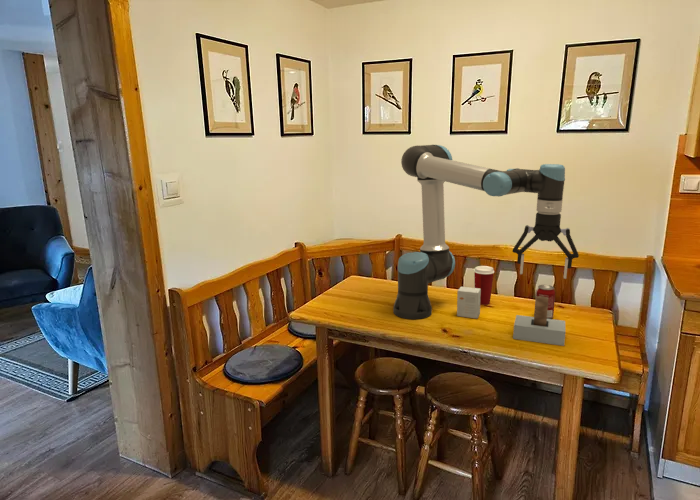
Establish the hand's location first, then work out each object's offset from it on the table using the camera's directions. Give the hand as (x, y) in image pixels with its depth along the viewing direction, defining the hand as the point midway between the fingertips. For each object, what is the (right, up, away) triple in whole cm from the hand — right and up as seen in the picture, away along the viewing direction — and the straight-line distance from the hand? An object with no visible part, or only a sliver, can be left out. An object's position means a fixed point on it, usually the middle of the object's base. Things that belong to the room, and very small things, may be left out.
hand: (542, 275), depth 159 cm
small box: (-19, -17, +26) cm, 36 cm away
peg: (+1, -21, +5) cm, 22 cm away
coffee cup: (-10, -14, +39) cm, 42 cm away
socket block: (+1, -21, +5) cm, 22 cm away
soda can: (+9, -17, +22) cm, 30 cm away
